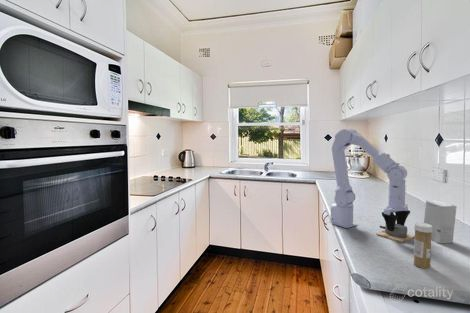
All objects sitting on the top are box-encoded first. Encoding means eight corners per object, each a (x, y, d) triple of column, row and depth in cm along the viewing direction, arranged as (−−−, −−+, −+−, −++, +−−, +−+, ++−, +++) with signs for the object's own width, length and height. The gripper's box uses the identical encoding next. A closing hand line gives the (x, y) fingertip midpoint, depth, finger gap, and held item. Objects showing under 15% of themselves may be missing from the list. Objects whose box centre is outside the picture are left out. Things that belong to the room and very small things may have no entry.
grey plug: (377, 230, 110) (377, 221, 110) (382, 229, 112) (382, 220, 112) (403, 239, 101) (404, 229, 101) (408, 236, 103) (409, 227, 103)
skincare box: (422, 235, 106) (423, 200, 105) (435, 235, 106) (437, 199, 105) (440, 244, 97) (442, 205, 96) (455, 243, 98) (457, 205, 97)
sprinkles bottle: (433, 269, 80) (435, 227, 78) (417, 268, 80) (419, 226, 79) (425, 262, 84) (427, 222, 83) (410, 261, 85) (411, 221, 84)
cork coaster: (376, 234, 108) (376, 233, 108) (389, 229, 113) (389, 228, 113) (402, 243, 99) (402, 241, 99) (414, 237, 104) (414, 235, 104)
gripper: (397, 200, 97) (396, 235, 99) (416, 195, 105) (415, 228, 106) (379, 197, 103) (378, 230, 105) (398, 192, 111) (396, 223, 112)
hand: (395, 228), depth 106 cm, fingers open, 7 cm apart
